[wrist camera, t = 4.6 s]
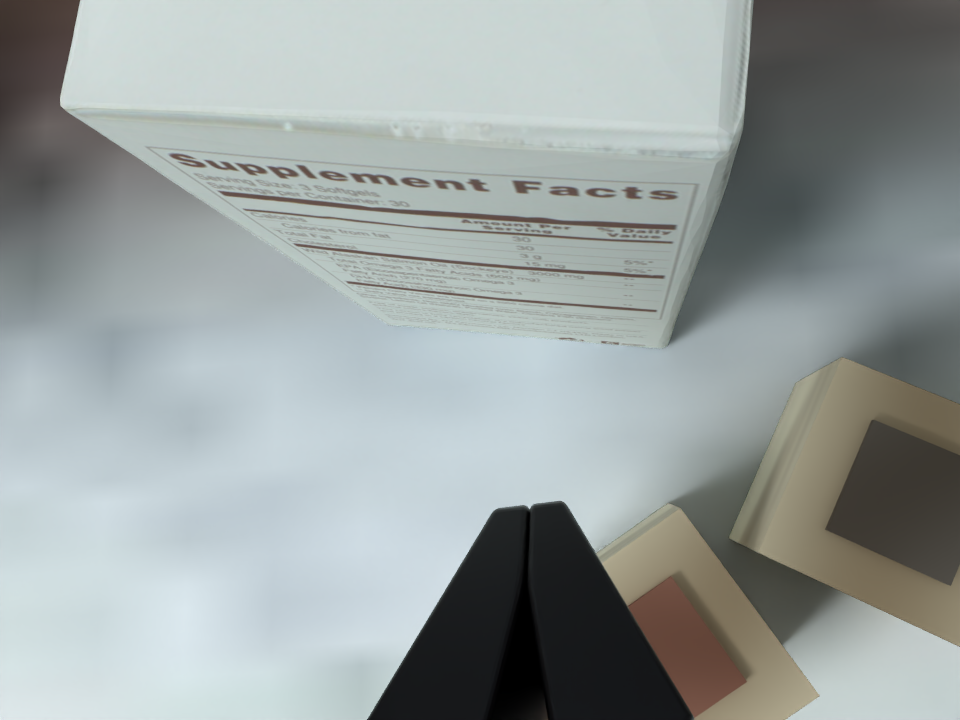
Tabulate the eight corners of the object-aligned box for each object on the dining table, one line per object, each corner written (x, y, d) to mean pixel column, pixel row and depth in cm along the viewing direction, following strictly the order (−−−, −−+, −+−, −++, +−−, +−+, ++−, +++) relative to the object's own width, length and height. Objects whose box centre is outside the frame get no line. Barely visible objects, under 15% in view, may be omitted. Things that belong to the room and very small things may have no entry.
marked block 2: (967, 454, 18) (1070, 446, 14) (899, 617, 18) (984, 658, 14) (795, 383, 19) (844, 355, 15) (727, 537, 18) (759, 553, 14)
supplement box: (420, 68, 22) (158, -484, 9) (699, 79, 20) (826, -553, 8) (380, 331, 21) (26, 108, 8) (669, 362, 19) (763, 147, 7)
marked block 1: (775, 649, 18) (822, 698, 14) (632, 749, 18) (636, 825, 14) (667, 502, 19) (680, 508, 15) (531, 598, 19) (508, 629, 15)
